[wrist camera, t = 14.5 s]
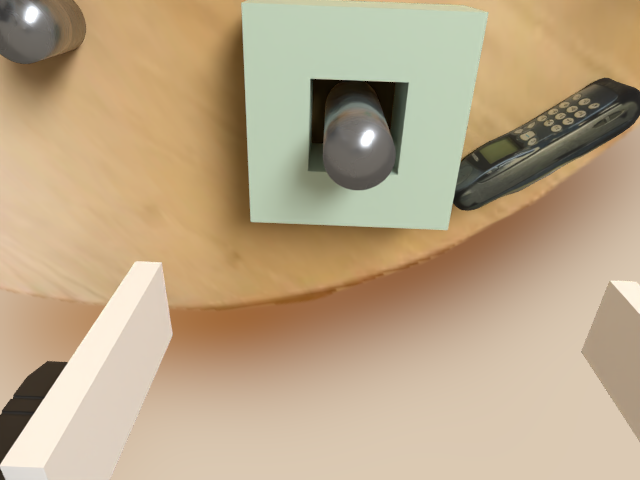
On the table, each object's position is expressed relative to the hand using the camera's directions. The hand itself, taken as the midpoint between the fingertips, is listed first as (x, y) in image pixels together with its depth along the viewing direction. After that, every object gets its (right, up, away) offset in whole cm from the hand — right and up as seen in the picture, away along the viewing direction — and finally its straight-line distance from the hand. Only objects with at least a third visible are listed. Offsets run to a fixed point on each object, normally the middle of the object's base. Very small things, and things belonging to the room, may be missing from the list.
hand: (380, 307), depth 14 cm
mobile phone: (+13, +10, +23) cm, 28 cm away
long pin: (+1, +12, +21) cm, 25 cm away
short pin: (-20, +17, +19) cm, 33 cm away
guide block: (+1, +12, +21) cm, 25 cm away
